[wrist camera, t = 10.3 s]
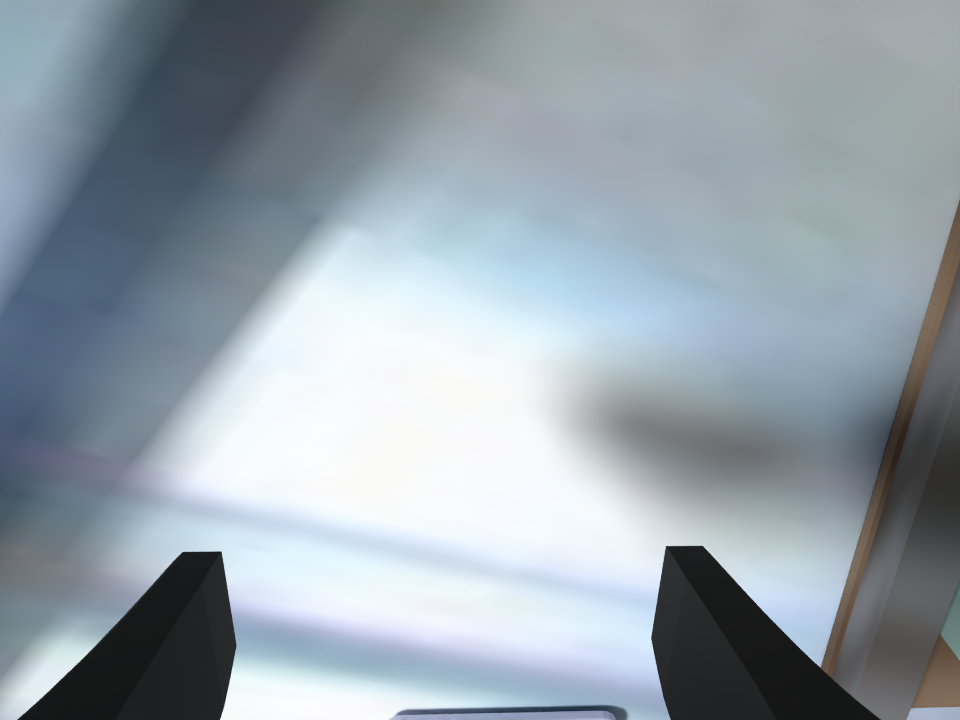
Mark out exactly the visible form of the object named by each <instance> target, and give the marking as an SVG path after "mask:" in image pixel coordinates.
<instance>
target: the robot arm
mask: <svg viewBox="0 0 960 720" xmlns="http://www.w3.org/2000/svg"><path fill="white" fill-rule="evenodd" d="M651 639H652V644H653V649H654V654H655V659H656V664H657V670H658V674H659V679H660V683H661V688H662V692H663V697H664V700H665V703H666V706H667V710H668V713H669V716H670V719H671V720H881V719H879V718H878V717H877V716H876V715H874V714H873V713H872V712H871V711H869V710H868V709H867V708H866V707H864V706H863V705H862V704H861V703H860V702H858V701H857V700H856V699H855V698H854V697H852V696H851V695H850V694H849V693H848V692H847V691H845V690H844V689H843V688H842V687H841V686H840V685H839V684H838V683H836V682H835V681H834V680H833V679H832V678H831V677H830V676H829V675H828V674H827V673H825V672H824V671H823V670H822V669H821V668H820V667H819V666H818V665H817V664H816V663H814V662H813V661H812V660H811V659H810V658H809V657H808V656H807V655H806V654H805V653H804V652H803V651H802V650H801V649H800V648H799V647H798V646H797V645H796V644H795V643H794V642H793V641H792V640H791V639H790V638H789V637H788V636H787V635H786V634H785V633H784V632H783V631H782V630H781V629H780V628H779V627H778V626H777V625H776V624H775V623H774V622H773V621H772V620H771V619H770V618H769V617H768V616H767V615H766V614H765V613H764V612H763V611H762V609H761V608H760V607H759V606H758V605H757V604H756V603H755V602H754V601H753V600H752V599H751V598H750V597H749V596H748V594H747V593H746V592H745V591H744V590H743V589H742V588H741V587H740V586H739V585H738V584H737V583H736V581H735V580H734V579H733V578H732V577H731V576H730V575H729V574H728V573H727V572H726V570H725V569H724V568H723V567H722V566H721V565H720V564H719V563H718V562H717V561H716V560H715V558H714V557H713V556H712V555H711V554H710V553H709V552H708V551H707V550H706V549H705V548H704V547H703V546H666V549H665V556H664V562H663V568H662V574H661V581H660V587H659V593H658V599H657V606H656V612H655V618H654V624H653V631H652V637H651ZM235 650H236V639H235V633H234V627H233V621H232V614H231V608H230V602H229V596H228V589H227V583H226V577H225V571H224V564H223V558H222V552H182V553H181V554H180V555H179V556H178V557H177V558H176V559H175V560H174V561H173V562H172V564H171V565H170V566H169V567H168V568H167V569H166V570H165V571H164V572H163V574H162V575H161V576H160V577H159V578H158V579H157V580H156V581H155V582H154V584H153V585H152V586H151V587H150V588H149V589H148V590H147V591H146V592H145V594H144V595H143V596H142V597H141V598H140V599H139V600H138V601H137V602H136V603H135V605H134V606H133V607H132V608H131V609H130V610H129V611H128V612H127V613H126V614H125V615H124V617H123V618H122V619H121V620H120V621H119V622H118V623H117V624H116V625H115V626H114V627H113V628H112V629H111V630H110V631H109V632H108V633H107V634H106V635H105V636H104V637H103V638H102V640H101V641H100V642H99V643H98V644H97V645H96V646H95V647H94V648H93V649H92V650H91V651H90V652H89V653H88V654H87V655H86V656H85V657H84V658H83V659H82V660H81V661H80V662H79V663H78V664H77V665H76V666H75V667H74V668H73V669H72V670H71V671H69V672H68V673H67V674H66V675H65V676H64V677H63V678H62V679H61V680H60V681H59V682H58V683H57V684H56V685H55V686H54V687H53V688H52V689H51V690H50V691H49V692H48V693H46V694H45V695H44V696H43V697H42V698H41V699H40V700H39V701H38V702H37V703H36V704H35V705H33V706H32V707H31V708H30V709H29V710H28V711H27V712H26V713H24V714H23V715H22V716H21V717H20V718H19V719H18V720H220V718H221V715H222V712H223V708H224V704H225V700H226V695H227V690H228V686H229V681H230V676H231V671H232V666H233V661H234V656H235ZM389 720H616V719H615V716H614V715H613V714H612V713H610V712H608V711H564V712H517V713H471V714H424V715H398V716H394V717H392V718H390V719H389Z"/></svg>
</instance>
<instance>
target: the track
mask: <svg viewBox="0 0 960 720" xmlns="http://www.w3.org/2000/svg"><path fill="white" fill-rule="evenodd" d="M959 580H960V201H959V205H958V208H957V211H956V215H955V218H954V221H953V225H952V228H951V232H950V235H949V238H948V242H947V245H946V248H945V252H944V255H943V258H942V262H941V265H940V269H939V272H938V275H937V279H936V282H935V285H934V289H933V292H932V295H931V299H930V302H929V306H928V309H927V312H926V316H925V319H924V322H923V326H922V329H921V332H920V336H919V339H918V343H917V346H916V349H915V353H914V356H913V359H912V363H911V366H910V369H909V373H908V376H907V380H906V383H905V386H904V390H903V393H902V396H901V400H900V403H899V406H898V410H897V413H896V417H895V420H894V423H893V427H892V430H891V433H890V437H889V440H888V443H887V447H886V450H885V454H884V457H883V460H882V464H881V467H880V470H879V474H878V477H877V480H876V484H875V487H874V491H873V494H872V497H871V501H870V504H869V507H868V511H867V514H866V517H865V521H864V524H863V528H862V531H861V534H860V538H859V541H858V544H857V548H856V551H855V554H854V558H853V561H852V565H851V568H850V571H849V575H848V578H847V581H846V585H845V588H844V591H843V595H842V598H841V602H840V605H839V608H838V612H837V615H836V618H835V622H834V625H833V628H832V632H831V635H830V639H829V642H828V645H827V649H826V652H825V655H824V659H823V662H822V666H821V669H822V670H823V671H824V672H825V673H827V674H828V675H829V676H830V677H831V678H832V679H833V680H834V681H835V682H836V683H838V684H839V685H840V686H841V687H842V688H843V689H844V690H845V691H847V692H848V693H849V694H850V695H851V696H852V697H854V698H855V699H856V700H857V701H858V702H860V703H861V704H862V705H863V706H864V707H866V708H867V709H868V710H869V711H871V712H872V713H873V714H874V715H876V716H877V717H878V718H879V719H881V720H906V719H907V717H908V714H909V711H910V709H911V708H928V707H960V660H959V659H958V658H957V656H956V655H955V654H954V652H953V651H952V650H951V648H950V647H949V645H948V644H947V643H946V641H945V640H944V639H943V637H942V636H941V634H940V633H939V632H940V630H941V627H942V625H943V622H944V619H945V617H946V614H947V611H948V609H949V606H950V603H951V601H952V598H953V596H954V593H955V590H956V588H957V585H958V582H959Z"/></svg>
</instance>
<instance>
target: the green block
mask: <svg viewBox="0 0 960 720" xmlns="http://www.w3.org/2000/svg"><path fill="white" fill-rule="evenodd" d="M939 633H940V634H941V636H942V637H943V639H944V640H945V641H946V643H947V644H948V645H949V647H950V648H951V650H952V651H953V652H954V654H955V655H956V656H957V658H958V659H959V660H960V580H959V582H958V585H957V588H956V590H955V593H954V596H953V598H952V601H951V603H950V606H949V609H948V611H947V614H946V617H945V619H944V622H943V625H942V627H941V630H940V632H939Z"/></svg>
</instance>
